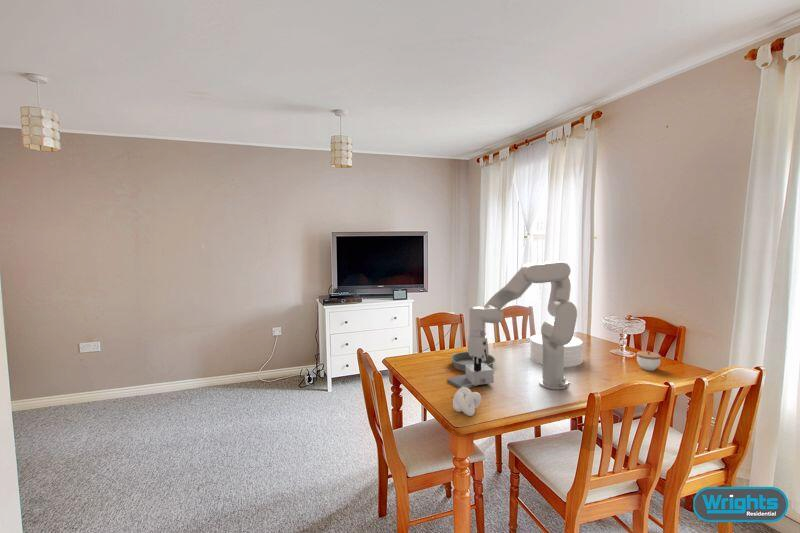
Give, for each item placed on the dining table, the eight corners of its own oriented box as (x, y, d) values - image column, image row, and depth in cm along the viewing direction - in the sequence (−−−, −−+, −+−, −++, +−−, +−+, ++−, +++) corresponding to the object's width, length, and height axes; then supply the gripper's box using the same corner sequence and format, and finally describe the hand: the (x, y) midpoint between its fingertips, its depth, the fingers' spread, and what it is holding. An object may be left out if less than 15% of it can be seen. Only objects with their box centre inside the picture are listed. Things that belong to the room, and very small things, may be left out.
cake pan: (480, 377, 195) (480, 368, 194) (442, 366, 212) (441, 359, 211) (503, 365, 212) (503, 357, 212) (466, 356, 229) (466, 348, 229)
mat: (484, 383, 186) (484, 380, 186) (462, 389, 179) (462, 386, 179) (468, 375, 197) (468, 373, 197) (447, 381, 190) (447, 378, 190)
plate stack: (549, 349, 240) (549, 331, 239) (592, 360, 216) (592, 340, 215) (520, 357, 224) (520, 338, 223) (562, 371, 201) (563, 349, 200)
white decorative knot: (476, 404, 164) (476, 383, 163) (486, 416, 152) (486, 395, 151) (450, 406, 162) (450, 386, 161) (459, 419, 150) (459, 397, 150)
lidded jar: (636, 363, 208) (636, 347, 208) (659, 367, 203) (660, 349, 202) (636, 370, 199) (636, 352, 199) (661, 373, 194) (661, 355, 193)
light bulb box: (494, 383, 182) (485, 375, 193) (493, 369, 182) (484, 362, 193) (473, 385, 180) (465, 377, 191) (472, 371, 180) (464, 364, 191)
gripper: (494, 335, 175) (494, 373, 176) (473, 328, 188) (473, 364, 189) (482, 337, 171) (482, 377, 173) (461, 330, 184) (461, 367, 186)
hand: (477, 370), depth 181 cm, fingers closed
